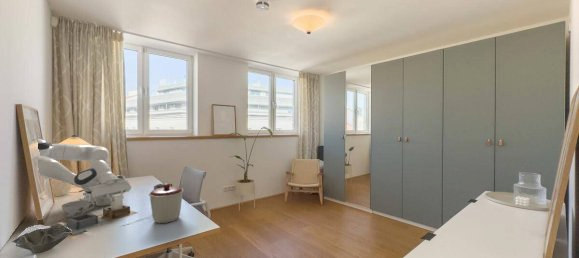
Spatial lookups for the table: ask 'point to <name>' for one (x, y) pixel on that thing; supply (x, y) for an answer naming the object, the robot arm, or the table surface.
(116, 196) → the plug
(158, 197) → the canister
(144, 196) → the table surface
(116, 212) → the brown open box
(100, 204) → the jar
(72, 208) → the teacup
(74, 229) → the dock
